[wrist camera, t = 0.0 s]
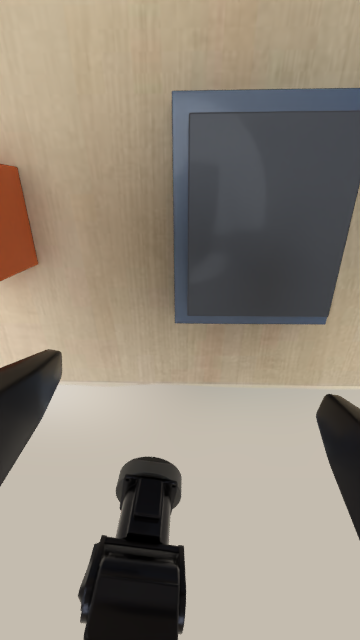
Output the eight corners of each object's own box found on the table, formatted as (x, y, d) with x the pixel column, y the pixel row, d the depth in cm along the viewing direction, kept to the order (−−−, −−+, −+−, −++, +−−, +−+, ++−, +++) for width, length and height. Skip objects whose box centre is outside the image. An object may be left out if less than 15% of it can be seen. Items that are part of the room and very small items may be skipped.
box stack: (315, 314, 24) (338, 336, 20) (175, 313, 24) (173, 334, 20) (361, 98, 18) (406, 72, 14) (173, 101, 18) (169, 76, 14)
